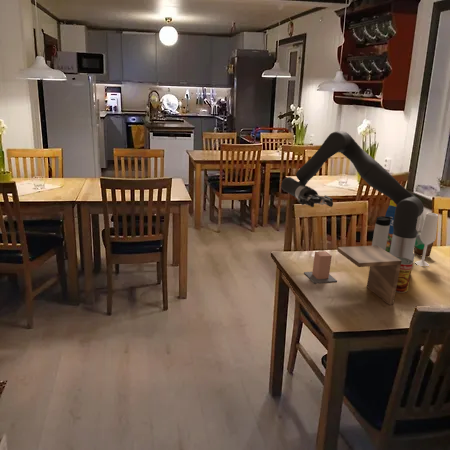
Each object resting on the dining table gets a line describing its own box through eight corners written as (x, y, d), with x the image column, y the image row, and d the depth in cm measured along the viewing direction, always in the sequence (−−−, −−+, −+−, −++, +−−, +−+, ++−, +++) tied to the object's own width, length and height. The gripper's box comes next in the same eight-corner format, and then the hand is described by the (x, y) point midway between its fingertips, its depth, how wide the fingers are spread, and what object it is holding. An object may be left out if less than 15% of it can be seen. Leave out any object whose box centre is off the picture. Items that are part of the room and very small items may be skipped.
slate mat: (325, 271, 193) (325, 270, 193) (336, 281, 184) (337, 280, 183) (303, 273, 190) (303, 272, 190) (314, 283, 181) (314, 282, 181)
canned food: (387, 290, 178) (392, 262, 175) (386, 282, 186) (391, 255, 182) (408, 294, 177) (414, 265, 173) (406, 285, 184) (411, 258, 180)
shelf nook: (369, 286, 181) (376, 245, 176) (393, 304, 167) (401, 260, 162) (331, 289, 177) (337, 247, 171) (352, 308, 162) (359, 263, 157)
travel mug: (386, 260, 209) (393, 219, 203) (372, 259, 209) (379, 218, 203) (382, 255, 215) (389, 215, 209) (368, 254, 215) (375, 214, 209)
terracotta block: (323, 273, 190) (325, 251, 187) (328, 278, 185) (331, 255, 182) (312, 274, 188) (314, 251, 185) (317, 279, 184) (320, 256, 181)
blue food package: (384, 247, 227) (392, 198, 220) (408, 253, 220) (417, 204, 212) (379, 250, 223) (387, 200, 215) (403, 257, 215) (412, 206, 208)
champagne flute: (412, 264, 207) (422, 214, 200) (415, 260, 212) (425, 211, 205) (428, 268, 203) (439, 217, 196) (431, 264, 209) (441, 214, 201)
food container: (406, 248, 227) (410, 229, 224) (418, 248, 228) (422, 229, 225) (418, 257, 216) (422, 238, 213) (430, 258, 216) (435, 238, 213)
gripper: (292, 187, 201) (308, 196, 186) (321, 186, 205) (339, 195, 190) (290, 203, 203) (306, 213, 188) (319, 202, 207) (336, 213, 192)
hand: (322, 204), depth 189 cm, fingers open, 8 cm apart
